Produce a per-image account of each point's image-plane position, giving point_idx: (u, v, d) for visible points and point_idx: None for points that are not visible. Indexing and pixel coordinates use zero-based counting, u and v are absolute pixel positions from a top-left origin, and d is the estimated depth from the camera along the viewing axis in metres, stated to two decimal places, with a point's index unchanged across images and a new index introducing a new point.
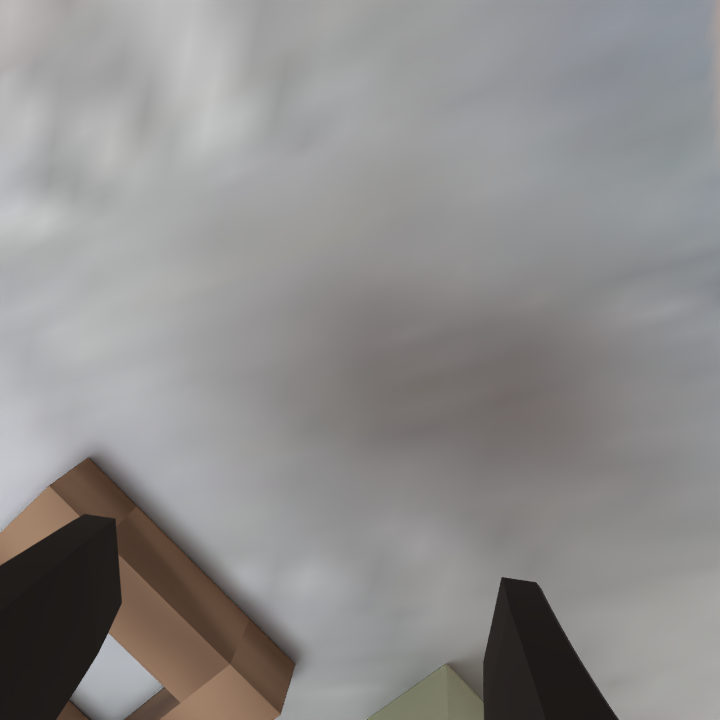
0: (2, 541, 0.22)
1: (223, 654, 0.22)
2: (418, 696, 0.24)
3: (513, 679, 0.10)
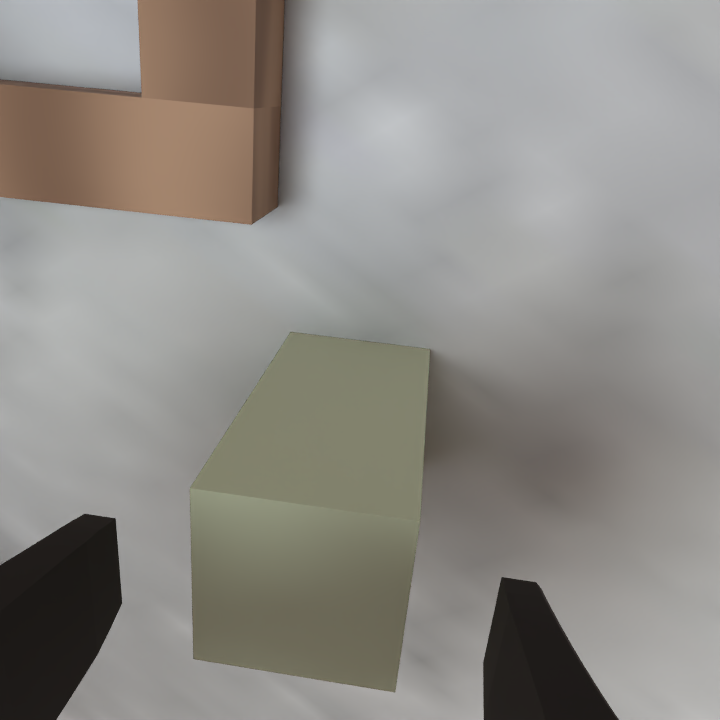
0: None
1: (254, 90, 0.14)
2: (380, 352, 0.18)
3: (513, 679, 0.10)
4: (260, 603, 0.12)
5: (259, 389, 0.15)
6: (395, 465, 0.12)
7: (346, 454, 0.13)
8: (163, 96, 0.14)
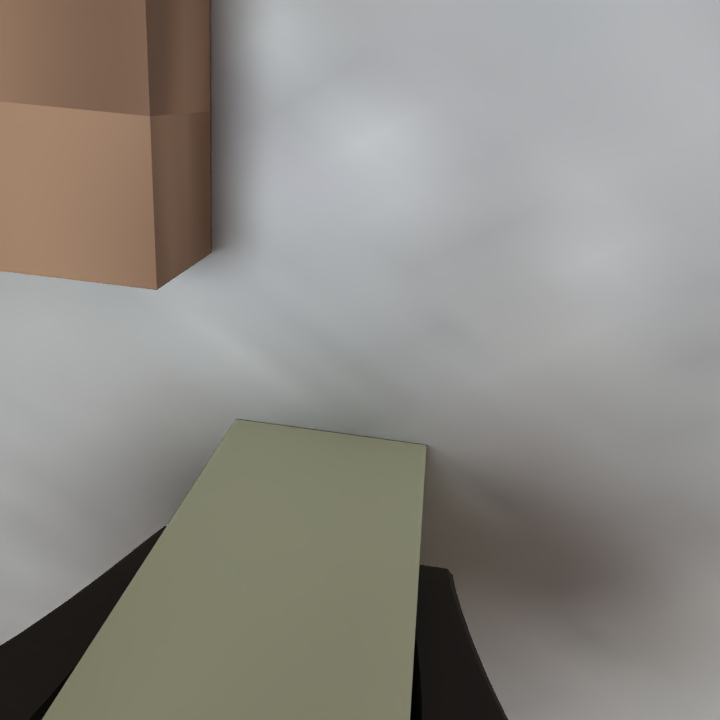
0: None
1: (151, 88, 0.09)
2: (356, 453, 0.13)
3: None
4: None
5: (168, 536, 0.10)
6: (364, 716, 0.07)
7: (283, 688, 0.08)
8: (11, 97, 0.09)
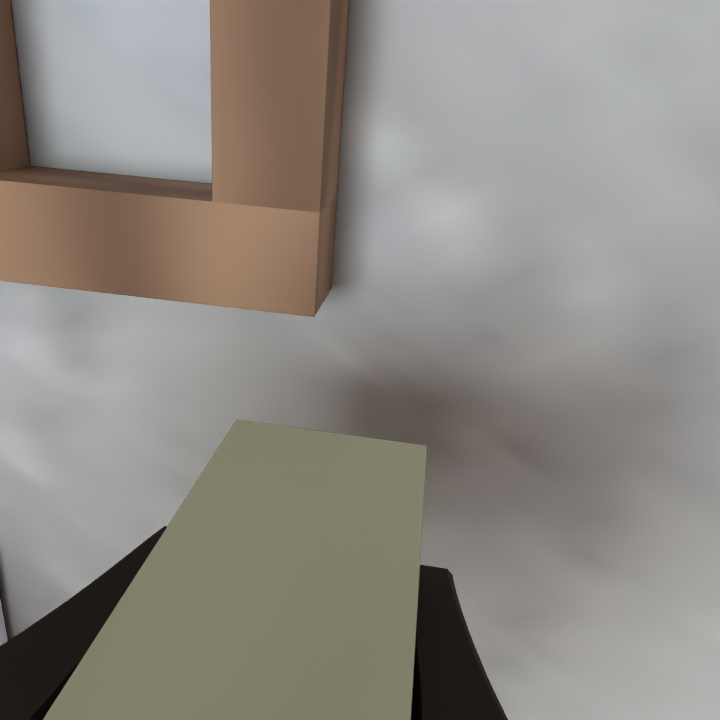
0: None
1: None
2: (356, 453, 0.13)
3: None
4: None
5: (169, 537, 0.10)
6: (365, 716, 0.07)
7: (284, 688, 0.08)
8: (233, 201, 0.15)
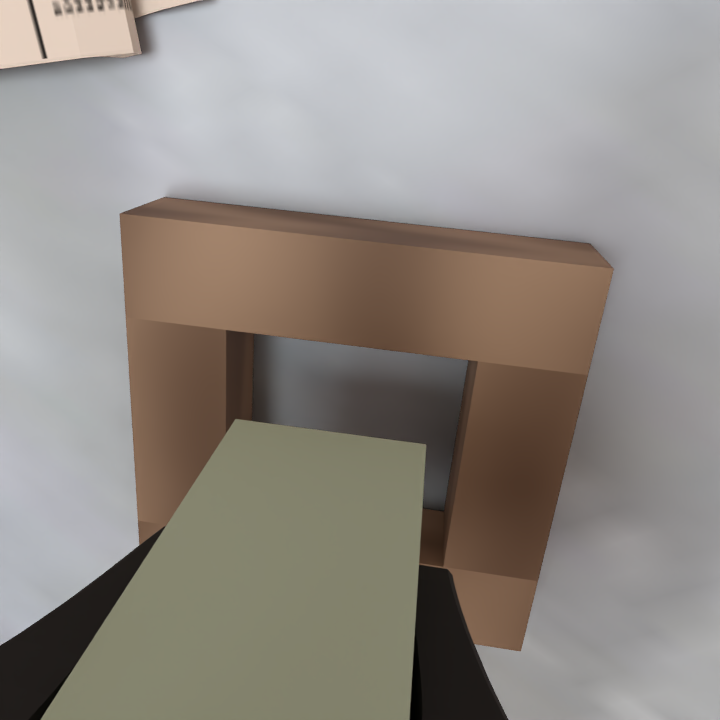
0: (479, 264, 0.14)
1: None
2: (356, 452, 0.13)
3: None
4: None
5: (168, 536, 0.10)
6: (363, 715, 0.07)
7: (282, 688, 0.08)
8: (461, 567, 0.17)
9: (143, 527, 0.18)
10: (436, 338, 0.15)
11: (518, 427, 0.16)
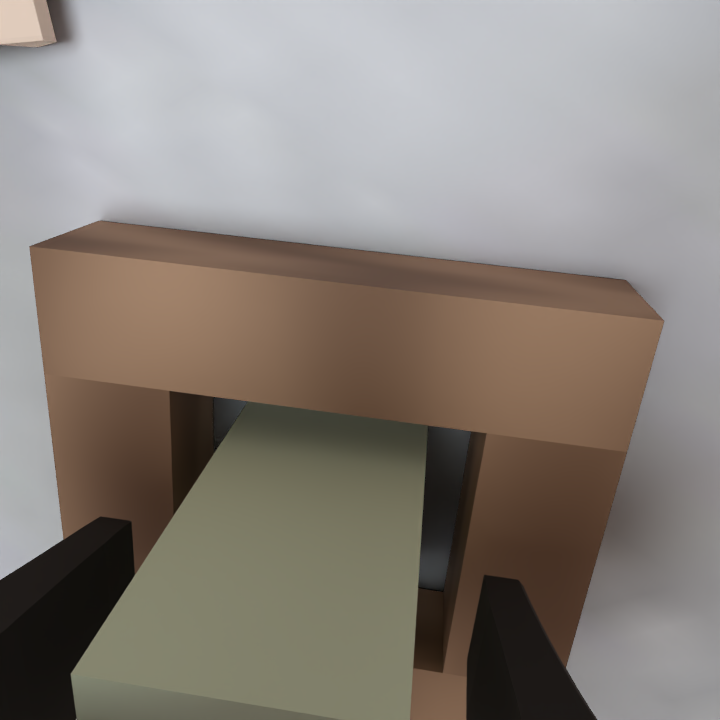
0: (488, 314, 0.11)
1: None
2: (365, 417, 0.14)
3: (493, 676, 0.10)
4: None
5: (202, 482, 0.11)
6: (377, 616, 0.09)
7: (307, 596, 0.09)
8: (465, 674, 0.14)
9: None
10: (433, 404, 0.12)
11: (537, 513, 0.12)
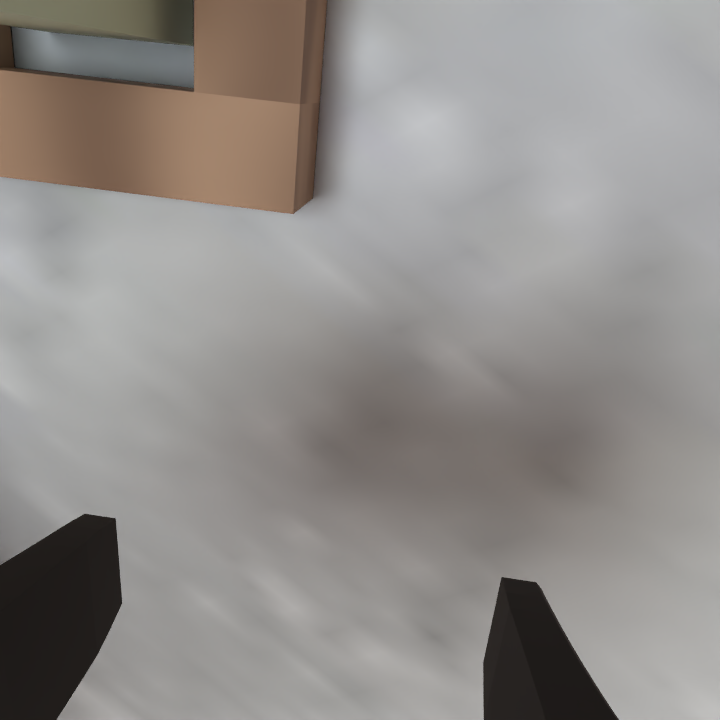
0: None
1: (300, 87, 0.15)
2: None
3: (513, 679, 0.10)
4: None
5: None
6: None
7: None
8: (214, 91, 0.15)
9: None
10: None
11: None
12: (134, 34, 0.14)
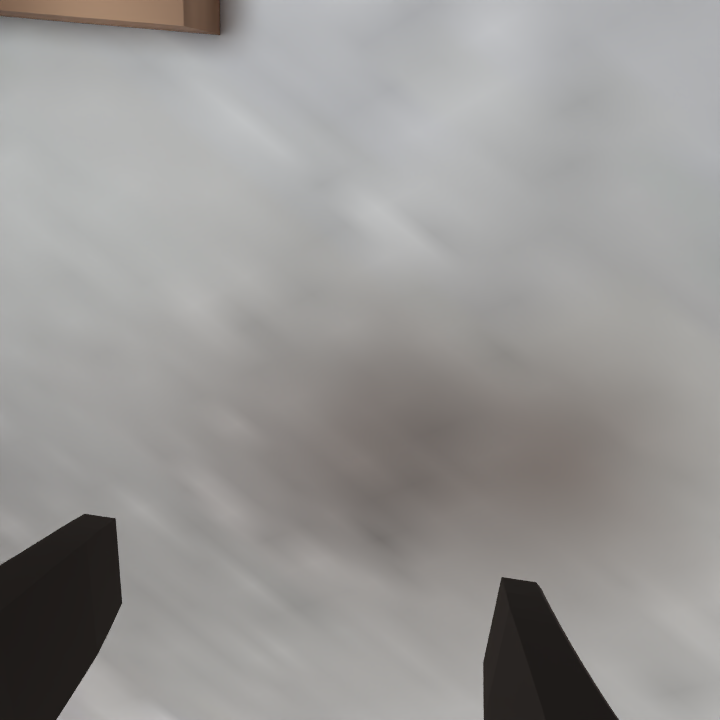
0: None
1: None
2: None
3: (513, 679, 0.10)
4: None
5: None
6: None
7: None
8: None
9: None
10: None
11: None
12: None
